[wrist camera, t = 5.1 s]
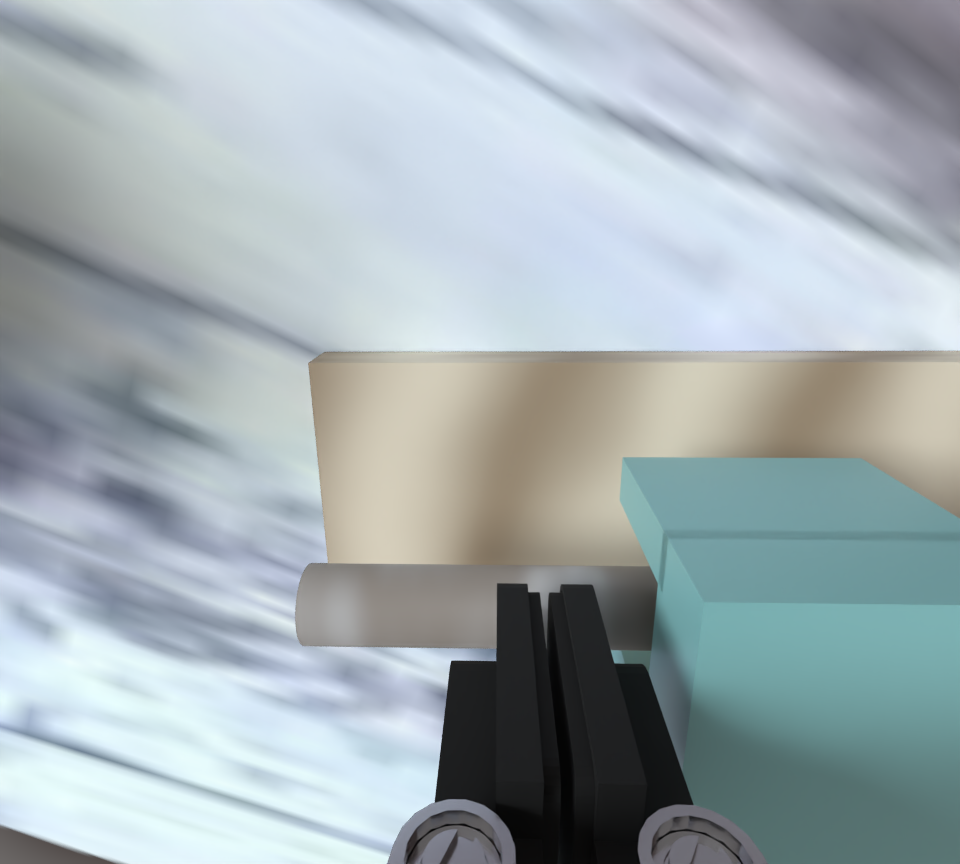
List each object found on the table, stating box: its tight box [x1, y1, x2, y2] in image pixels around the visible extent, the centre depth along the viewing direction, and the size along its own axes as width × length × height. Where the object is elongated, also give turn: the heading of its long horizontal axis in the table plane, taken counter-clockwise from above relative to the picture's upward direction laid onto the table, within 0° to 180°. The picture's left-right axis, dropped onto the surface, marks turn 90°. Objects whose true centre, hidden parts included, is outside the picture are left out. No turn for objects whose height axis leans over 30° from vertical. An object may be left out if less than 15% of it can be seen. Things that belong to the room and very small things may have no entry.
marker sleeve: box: [611, 457, 960, 864], centre depth 11 cm, size 5×5×5 cm
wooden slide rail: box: [295, 351, 960, 651], centre depth 13 cm, size 26×8×8 cm, turn 90°
